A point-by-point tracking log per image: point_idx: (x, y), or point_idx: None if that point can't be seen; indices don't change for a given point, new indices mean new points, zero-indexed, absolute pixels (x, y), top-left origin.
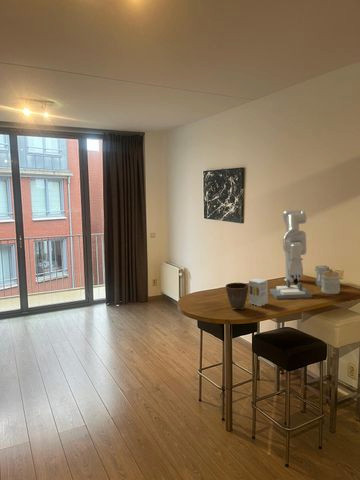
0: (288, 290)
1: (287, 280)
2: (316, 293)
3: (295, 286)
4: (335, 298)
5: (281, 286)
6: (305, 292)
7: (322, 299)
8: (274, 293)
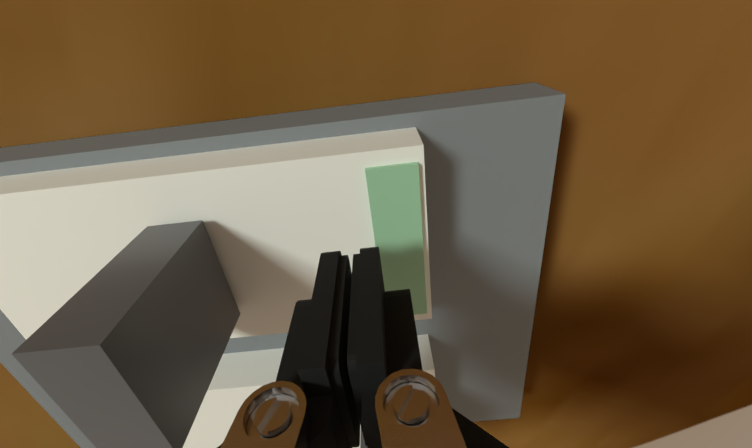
0: (215, 429)
1: (93, 440)
2: (645, 255)
3: (360, 244)
4: (712, 406)
5: (47, 233)
6: (461, 374)
7: (569, 425)
8: (40, 400)
